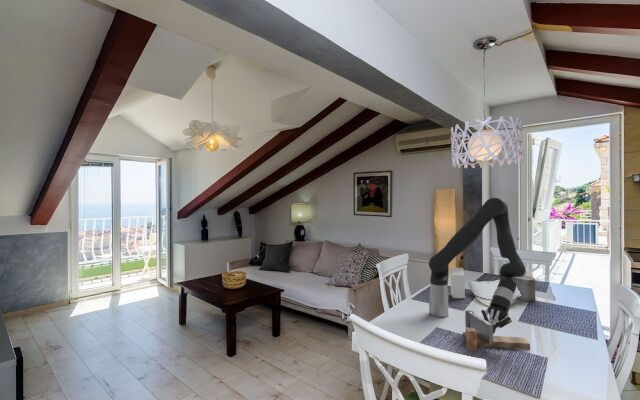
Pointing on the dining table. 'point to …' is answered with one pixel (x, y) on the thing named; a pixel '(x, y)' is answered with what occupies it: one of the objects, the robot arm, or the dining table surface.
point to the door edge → (494, 341)
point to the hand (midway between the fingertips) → (489, 333)
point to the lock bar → (479, 326)
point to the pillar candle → (526, 288)
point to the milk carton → (457, 283)
